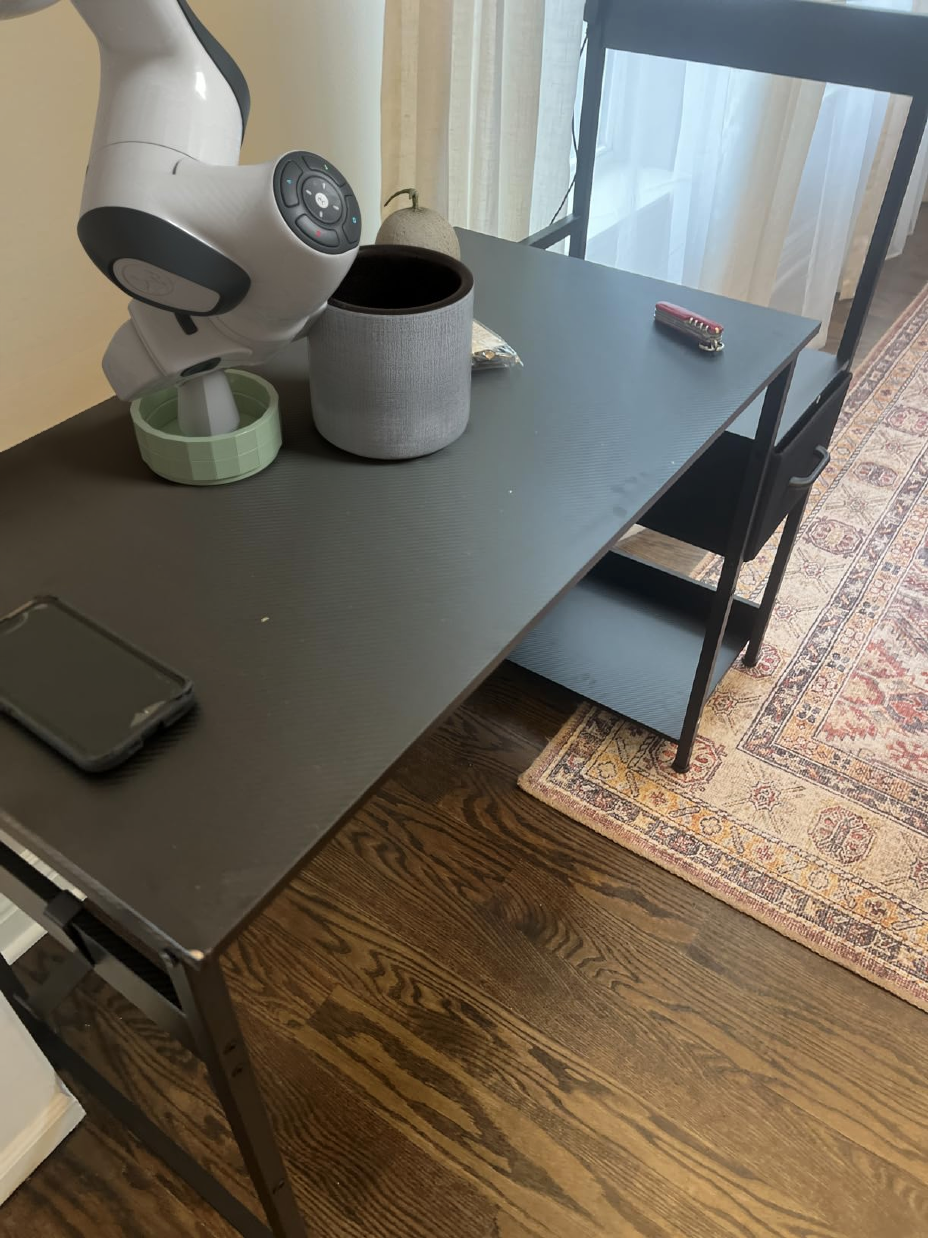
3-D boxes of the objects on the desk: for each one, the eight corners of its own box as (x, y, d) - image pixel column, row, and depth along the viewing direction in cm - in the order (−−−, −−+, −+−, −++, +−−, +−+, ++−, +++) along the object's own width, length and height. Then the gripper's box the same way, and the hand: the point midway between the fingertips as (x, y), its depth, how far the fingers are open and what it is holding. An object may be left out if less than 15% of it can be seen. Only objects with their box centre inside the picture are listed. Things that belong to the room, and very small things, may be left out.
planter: (282, 415, 96) (266, 267, 85) (404, 370, 104) (403, 229, 93) (376, 486, 88) (371, 331, 77) (501, 430, 95) (512, 283, 85)
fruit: (419, 276, 123) (420, 155, 113) (475, 307, 116) (481, 182, 106) (354, 296, 118) (348, 171, 107) (409, 329, 111) (408, 200, 101)
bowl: (155, 500, 85) (144, 453, 81) (130, 426, 94) (119, 381, 90) (300, 470, 89) (295, 424, 86) (262, 401, 98) (257, 358, 95)
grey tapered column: (169, 447, 89) (143, 319, 81) (203, 420, 93) (182, 294, 85) (222, 462, 88) (201, 332, 79) (254, 433, 92) (237, 307, 83)
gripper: (328, 237, 80) (273, 308, 91) (110, 304, 69) (78, 374, 81) (364, 305, 80) (304, 366, 92) (153, 381, 70) (116, 440, 81)
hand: (197, 370), depth 86 cm, fingers closed on grey tapered column, 3 cm apart
